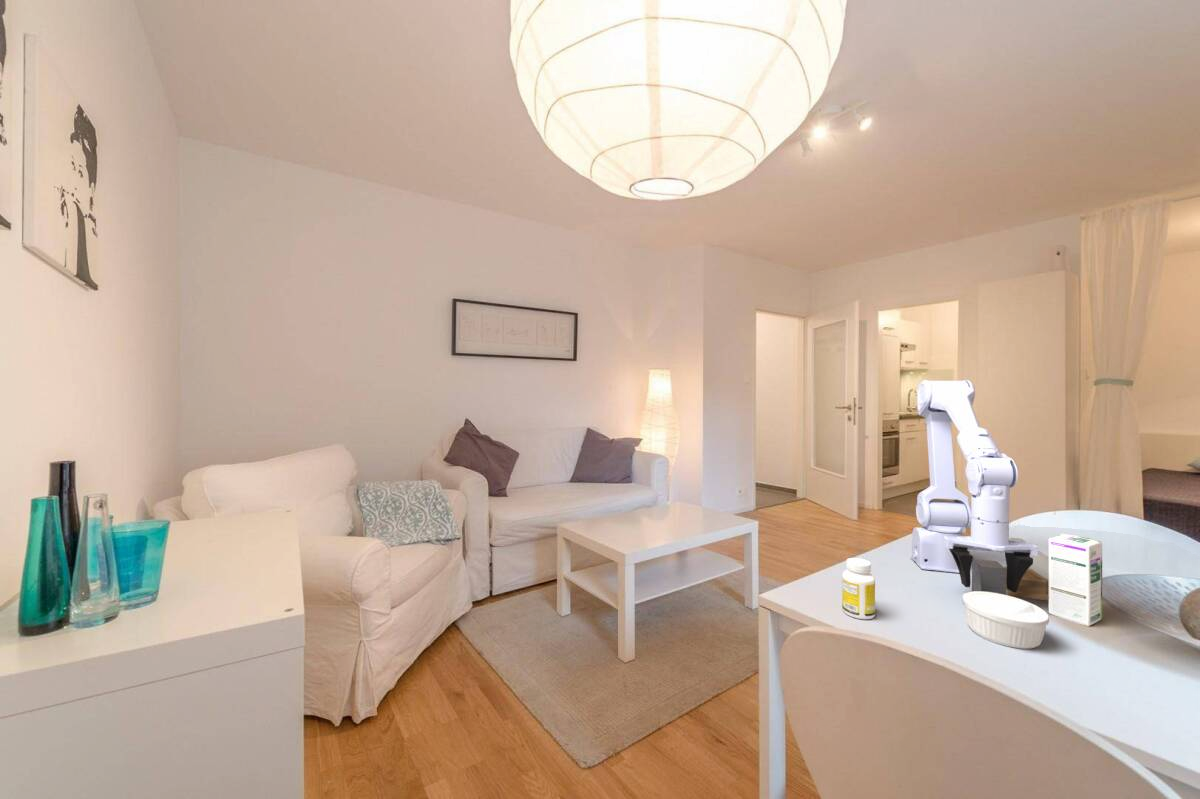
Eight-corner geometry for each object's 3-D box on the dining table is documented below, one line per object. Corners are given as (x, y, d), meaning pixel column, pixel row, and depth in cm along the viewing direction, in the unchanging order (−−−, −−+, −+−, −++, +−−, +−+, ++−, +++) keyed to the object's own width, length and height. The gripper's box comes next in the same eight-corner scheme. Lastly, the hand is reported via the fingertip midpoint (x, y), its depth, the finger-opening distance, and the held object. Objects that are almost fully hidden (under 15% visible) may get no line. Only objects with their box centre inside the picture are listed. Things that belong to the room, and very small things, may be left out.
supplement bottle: (871, 609, 90) (872, 558, 90) (878, 622, 85) (878, 568, 85) (840, 604, 92) (840, 555, 92) (844, 617, 87) (845, 565, 86)
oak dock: (1007, 596, 96) (1007, 577, 96) (990, 582, 102) (990, 565, 102) (1051, 600, 94) (1051, 582, 93) (1030, 586, 100) (1031, 569, 100)
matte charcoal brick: (980, 607, 91) (981, 566, 91) (971, 598, 95) (972, 558, 94) (1005, 610, 90) (1006, 568, 89) (995, 601, 93) (996, 561, 93)
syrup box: (1090, 627, 83) (1092, 546, 83) (1046, 613, 88) (1048, 536, 88) (1102, 620, 86) (1104, 541, 85) (1059, 606, 91) (1061, 532, 91)
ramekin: (1057, 661, 73) (1057, 627, 73) (966, 640, 79) (966, 609, 79) (1038, 630, 82) (1039, 600, 82) (958, 613, 88) (959, 586, 88)
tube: (1098, 583, 93) (1034, 543, 116) (1066, 571, 94) (1008, 534, 118) (1086, 607, 94) (1025, 562, 117) (1054, 595, 95) (1000, 553, 119)
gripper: (954, 520, 90) (952, 591, 90) (1048, 527, 86) (1046, 601, 86) (940, 511, 97) (939, 577, 97) (1026, 517, 92) (1025, 586, 93)
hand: (988, 587), depth 92 cm, fingers open, 7 cm apart
